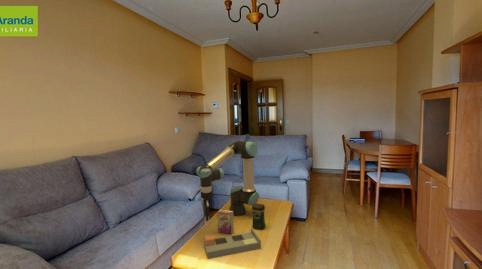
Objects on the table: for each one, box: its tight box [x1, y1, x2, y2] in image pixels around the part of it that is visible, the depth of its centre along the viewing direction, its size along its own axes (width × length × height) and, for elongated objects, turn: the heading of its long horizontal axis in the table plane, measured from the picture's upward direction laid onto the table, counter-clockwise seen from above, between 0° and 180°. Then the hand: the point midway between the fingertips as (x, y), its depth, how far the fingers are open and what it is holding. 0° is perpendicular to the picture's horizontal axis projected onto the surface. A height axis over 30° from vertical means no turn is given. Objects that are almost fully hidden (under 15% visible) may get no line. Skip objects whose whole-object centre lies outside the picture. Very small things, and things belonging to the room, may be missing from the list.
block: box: [204, 234, 216, 246], centre depth 162 cm, size 6×6×4 cm
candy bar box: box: [216, 208, 235, 235], centre depth 180 cm, size 11×5×16 cm, turn 71°
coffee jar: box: [251, 203, 266, 230], centre depth 186 cm, size 10×8×19 cm
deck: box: [203, 227, 262, 260], centre depth 162 cm, size 17×35×6 cm, turn 107°
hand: (207, 224), depth 168 cm, fingers closed
